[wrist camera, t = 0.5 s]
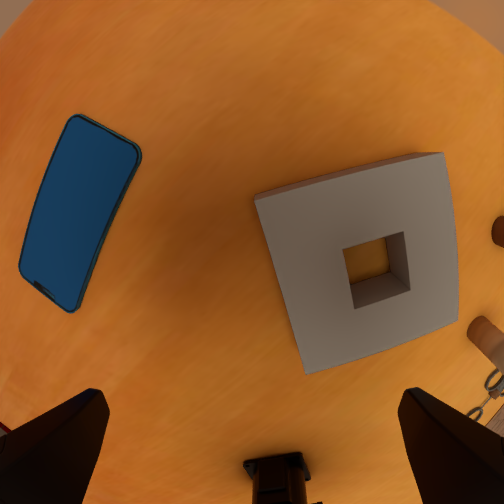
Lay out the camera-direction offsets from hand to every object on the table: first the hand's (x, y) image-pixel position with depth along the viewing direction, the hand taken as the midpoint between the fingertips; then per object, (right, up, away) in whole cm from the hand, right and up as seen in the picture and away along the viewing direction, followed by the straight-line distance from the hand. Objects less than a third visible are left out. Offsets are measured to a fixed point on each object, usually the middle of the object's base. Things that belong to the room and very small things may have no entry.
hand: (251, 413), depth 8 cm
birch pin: (+21, -3, +15) cm, 26 cm away
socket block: (+8, +4, +13) cm, 16 cm away
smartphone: (-14, +7, +13) cm, 21 cm away
